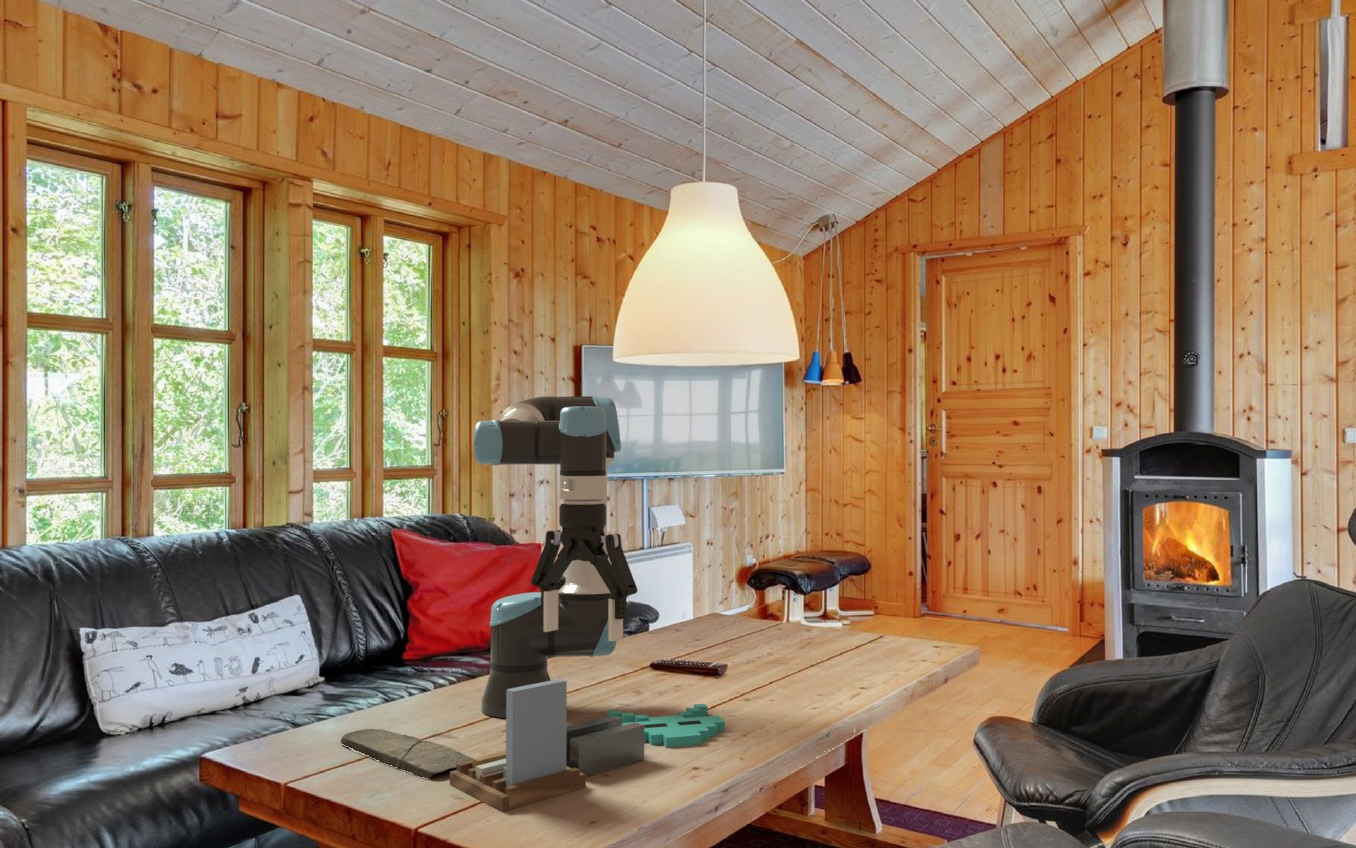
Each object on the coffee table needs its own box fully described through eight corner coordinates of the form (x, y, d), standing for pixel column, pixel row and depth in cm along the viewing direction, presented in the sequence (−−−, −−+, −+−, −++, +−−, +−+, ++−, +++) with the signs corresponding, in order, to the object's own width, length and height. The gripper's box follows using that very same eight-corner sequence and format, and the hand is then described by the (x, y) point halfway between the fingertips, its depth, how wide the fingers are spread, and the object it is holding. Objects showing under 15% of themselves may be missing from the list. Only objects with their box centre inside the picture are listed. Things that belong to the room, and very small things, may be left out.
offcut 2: (475, 791, 152) (475, 766, 152) (534, 775, 159) (534, 751, 160) (481, 794, 151) (481, 769, 151) (540, 778, 158) (540, 753, 158)
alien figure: (607, 722, 191) (629, 753, 172) (607, 711, 191) (629, 740, 172) (704, 714, 196) (736, 744, 177) (704, 703, 197) (736, 732, 177)
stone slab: (384, 722, 183) (482, 749, 163) (384, 739, 183) (483, 768, 163) (334, 735, 175) (431, 765, 156) (334, 753, 175) (431, 785, 155)
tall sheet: (505, 801, 147) (506, 689, 148) (559, 785, 154) (559, 678, 155) (512, 804, 146) (512, 691, 146) (566, 788, 153) (566, 680, 153)
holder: (549, 766, 163) (549, 731, 163) (613, 749, 173) (613, 715, 173) (578, 779, 157) (578, 742, 157) (644, 760, 167) (644, 725, 167)
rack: (449, 784, 155) (449, 765, 155) (530, 763, 165) (530, 745, 165) (502, 811, 143) (502, 791, 143) (585, 787, 154) (585, 768, 154)
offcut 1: (472, 783, 156) (472, 758, 156) (519, 770, 162) (519, 746, 162) (477, 786, 154) (478, 761, 154) (525, 773, 160) (525, 749, 161)
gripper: (510, 501, 159) (509, 630, 159) (630, 505, 145) (629, 648, 145) (541, 499, 166) (541, 623, 165) (659, 503, 151) (659, 640, 151)
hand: (582, 635), depth 155 cm, fingers open, 13 cm apart
